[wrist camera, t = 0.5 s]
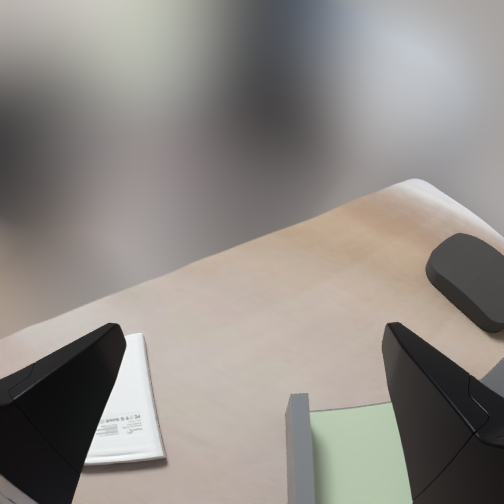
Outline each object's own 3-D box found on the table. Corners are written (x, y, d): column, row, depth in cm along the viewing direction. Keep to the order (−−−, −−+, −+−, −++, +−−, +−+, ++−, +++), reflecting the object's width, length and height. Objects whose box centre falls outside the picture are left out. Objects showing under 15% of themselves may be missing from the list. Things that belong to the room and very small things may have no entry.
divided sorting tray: (511, 476, 12) (541, 462, 9) (288, 548, 13) (295, 557, 10) (486, 378, 21) (510, 355, 18) (285, 413, 22) (290, 394, 19)
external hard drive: (146, 341, 28) (168, 459, 19) (75, 354, 26) (81, 467, 17) (141, 331, 27) (163, 455, 18) (69, 345, 25) (71, 463, 16)
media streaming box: (413, 272, 34) (421, 255, 32) (459, 239, 40) (465, 224, 38) (493, 345, 25) (506, 329, 23) (523, 292, 30) (532, 278, 28)
